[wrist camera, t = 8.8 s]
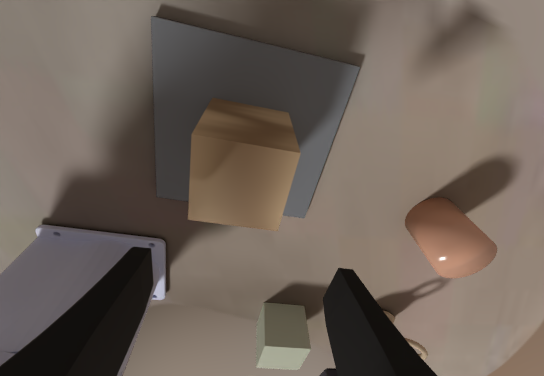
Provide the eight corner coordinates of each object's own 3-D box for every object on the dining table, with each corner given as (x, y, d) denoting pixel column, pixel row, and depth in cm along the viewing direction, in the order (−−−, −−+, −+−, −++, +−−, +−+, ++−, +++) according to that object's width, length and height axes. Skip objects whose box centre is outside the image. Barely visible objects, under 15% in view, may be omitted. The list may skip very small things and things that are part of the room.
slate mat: (159, 192, 19) (156, 196, 18) (155, 16, 13) (151, 16, 13) (303, 213, 21) (304, 218, 20) (356, 65, 15) (360, 67, 14)
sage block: (256, 324, 30) (256, 367, 26) (263, 301, 27) (264, 346, 24) (293, 326, 30) (298, 369, 27) (304, 305, 28) (311, 349, 24)
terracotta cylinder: (396, 231, 22) (424, 275, 19) (420, 193, 20) (457, 234, 16) (437, 237, 23) (472, 280, 19) (465, 201, 21) (510, 242, 17)
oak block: (206, 165, 17) (187, 219, 13) (212, 97, 15) (191, 134, 10) (273, 176, 18) (277, 231, 13) (288, 112, 16) (300, 153, 11)
